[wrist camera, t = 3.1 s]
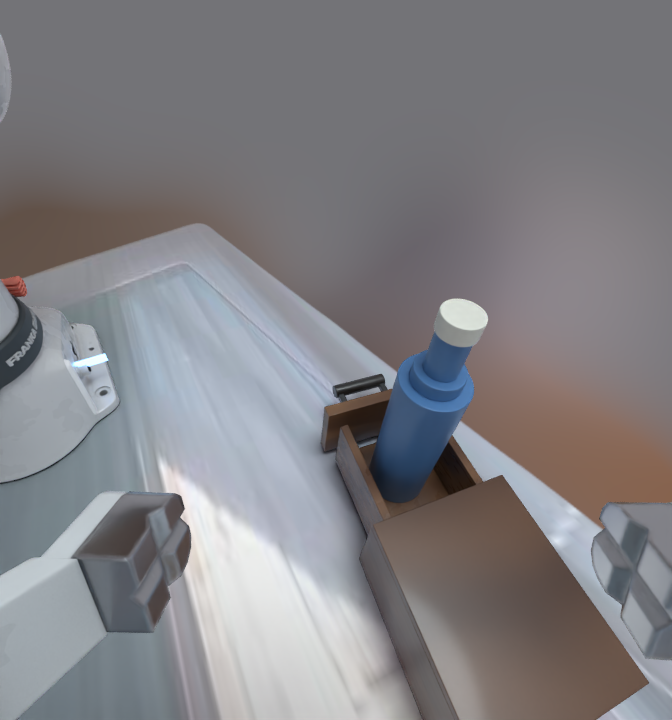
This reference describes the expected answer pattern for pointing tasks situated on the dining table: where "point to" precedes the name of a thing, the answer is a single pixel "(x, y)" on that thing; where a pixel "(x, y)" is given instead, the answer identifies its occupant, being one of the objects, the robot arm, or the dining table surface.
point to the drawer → (363, 422)
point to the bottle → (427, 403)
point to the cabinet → (492, 614)
